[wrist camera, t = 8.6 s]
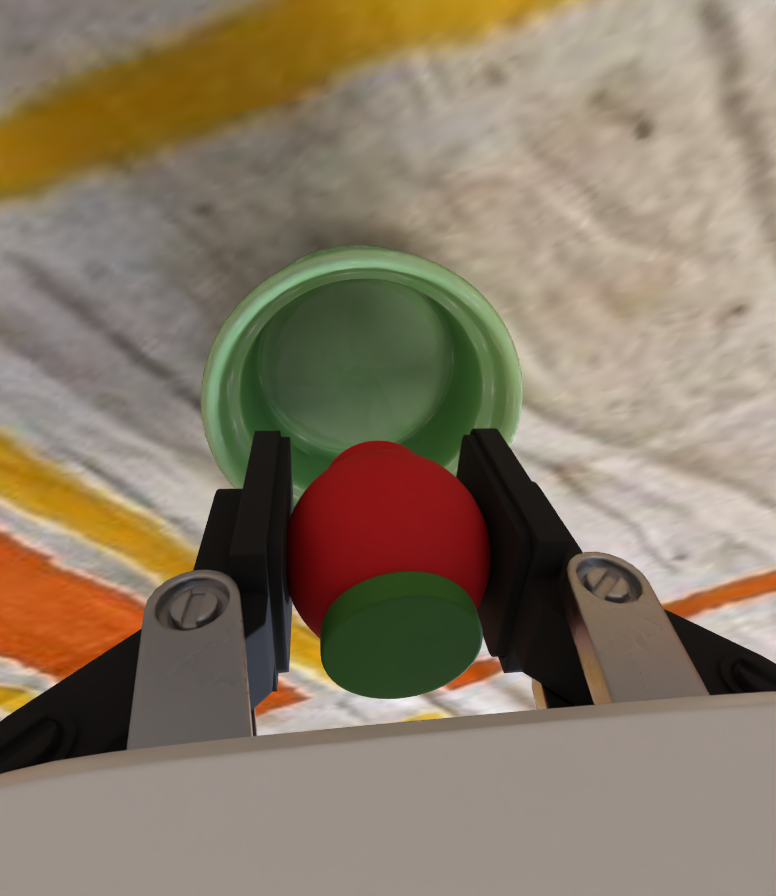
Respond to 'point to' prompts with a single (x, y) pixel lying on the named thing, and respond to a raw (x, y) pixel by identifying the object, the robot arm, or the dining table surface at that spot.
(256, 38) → the dining table surface
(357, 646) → the strawberry
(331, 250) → the ramekin
